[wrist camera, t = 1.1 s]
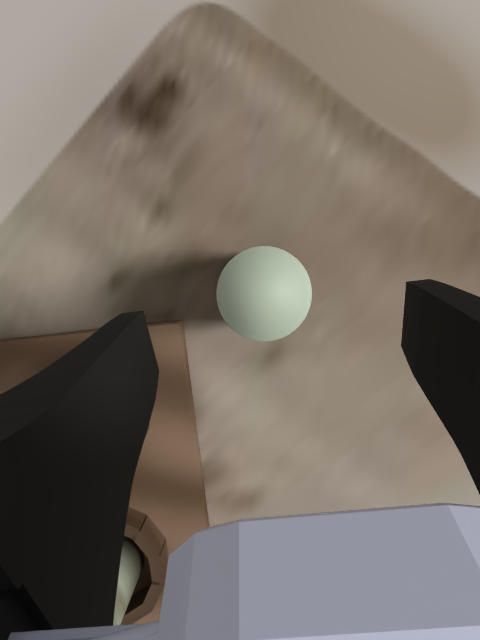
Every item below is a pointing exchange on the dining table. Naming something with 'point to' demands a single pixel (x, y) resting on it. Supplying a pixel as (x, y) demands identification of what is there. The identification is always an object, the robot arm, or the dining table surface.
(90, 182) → the dining table surface
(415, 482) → the dining table surface
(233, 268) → the loose peg
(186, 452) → the peg stand
